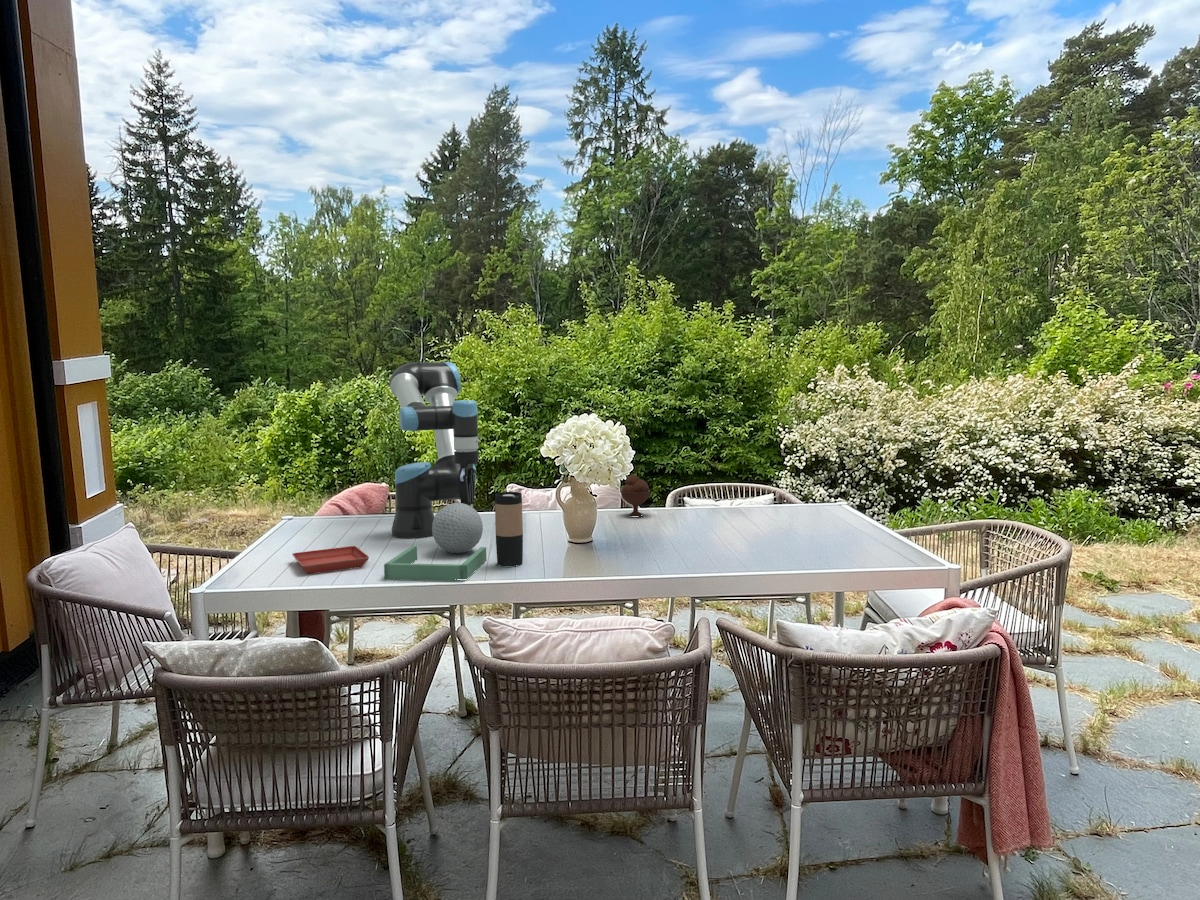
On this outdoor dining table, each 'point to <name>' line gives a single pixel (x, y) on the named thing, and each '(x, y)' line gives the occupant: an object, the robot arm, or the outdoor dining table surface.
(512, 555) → the travel mug
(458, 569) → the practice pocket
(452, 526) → the decorative ball
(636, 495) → the ice cream bowl
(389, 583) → the outdoor dining table surface
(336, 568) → the plant saucer
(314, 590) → the outdoor dining table surface
